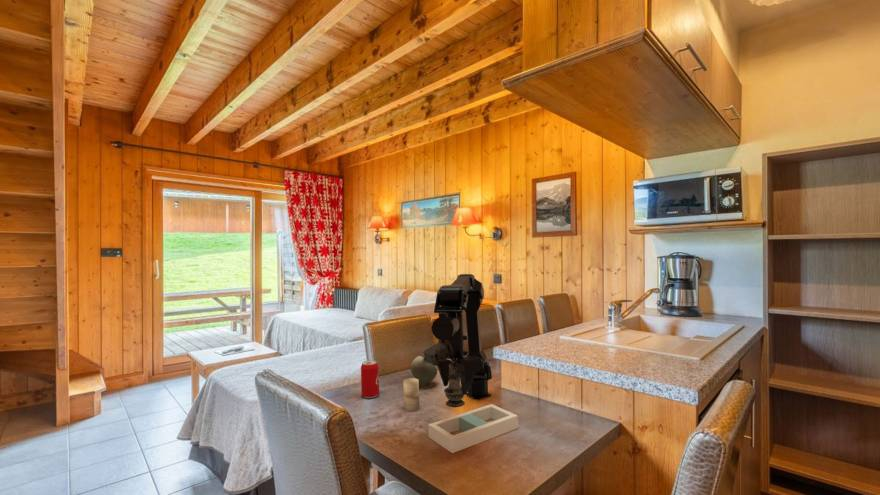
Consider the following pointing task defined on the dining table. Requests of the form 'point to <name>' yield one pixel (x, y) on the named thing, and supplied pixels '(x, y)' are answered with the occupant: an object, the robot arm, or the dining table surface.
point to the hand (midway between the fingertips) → (454, 390)
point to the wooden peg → (411, 394)
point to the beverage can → (370, 379)
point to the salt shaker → (454, 388)
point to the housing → (472, 427)
